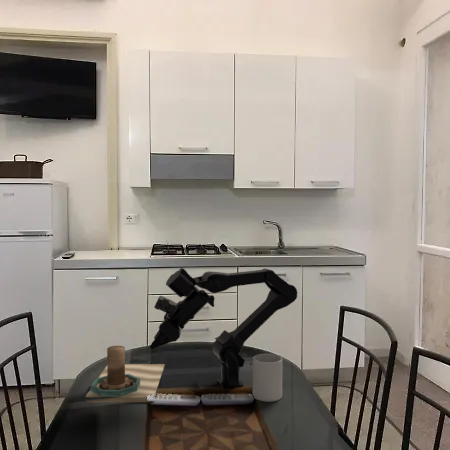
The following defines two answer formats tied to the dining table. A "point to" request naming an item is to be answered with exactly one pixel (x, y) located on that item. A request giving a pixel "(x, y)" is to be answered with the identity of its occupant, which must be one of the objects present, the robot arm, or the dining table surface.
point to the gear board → (145, 381)
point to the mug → (267, 377)
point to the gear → (115, 370)
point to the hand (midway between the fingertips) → (152, 343)
